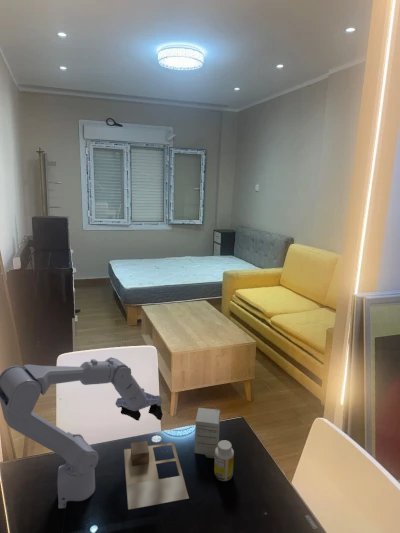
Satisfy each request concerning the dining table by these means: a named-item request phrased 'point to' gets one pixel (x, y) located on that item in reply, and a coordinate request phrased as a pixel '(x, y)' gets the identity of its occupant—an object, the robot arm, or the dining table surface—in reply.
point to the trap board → (152, 481)
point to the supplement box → (207, 431)
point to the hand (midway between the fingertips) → (149, 417)
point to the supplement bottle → (224, 461)
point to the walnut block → (139, 453)
